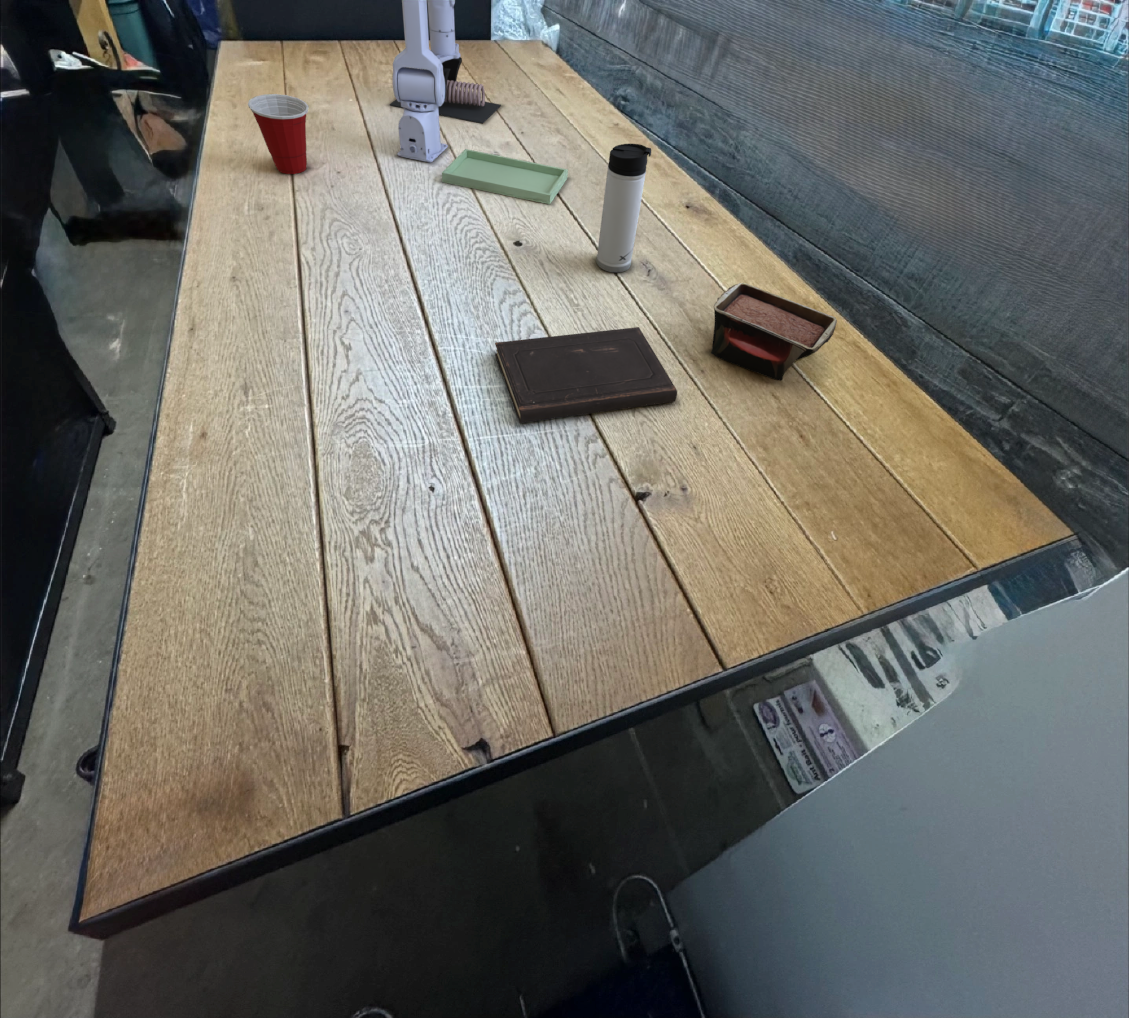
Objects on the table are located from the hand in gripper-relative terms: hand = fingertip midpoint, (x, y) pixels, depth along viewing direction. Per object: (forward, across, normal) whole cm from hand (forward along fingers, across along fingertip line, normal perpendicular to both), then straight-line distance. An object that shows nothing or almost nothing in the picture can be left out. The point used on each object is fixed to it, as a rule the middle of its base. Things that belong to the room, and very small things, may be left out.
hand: (445, 95), depth 160 cm
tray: (+2, -33, -27) cm, 43 cm away
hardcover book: (+2, -91, -59) cm, 108 cm away
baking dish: (+2, -74, -84) cm, 112 cm away
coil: (+2, 0, -1) cm, 2 cm away
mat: (+2, 0, 0) cm, 2 cm away
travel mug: (+2, -57, -56) cm, 80 cm away
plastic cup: (+2, -47, +14) cm, 49 cm away
